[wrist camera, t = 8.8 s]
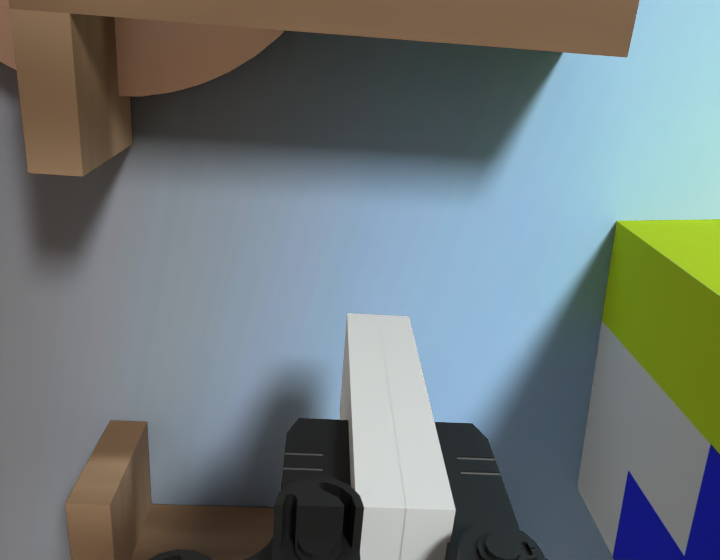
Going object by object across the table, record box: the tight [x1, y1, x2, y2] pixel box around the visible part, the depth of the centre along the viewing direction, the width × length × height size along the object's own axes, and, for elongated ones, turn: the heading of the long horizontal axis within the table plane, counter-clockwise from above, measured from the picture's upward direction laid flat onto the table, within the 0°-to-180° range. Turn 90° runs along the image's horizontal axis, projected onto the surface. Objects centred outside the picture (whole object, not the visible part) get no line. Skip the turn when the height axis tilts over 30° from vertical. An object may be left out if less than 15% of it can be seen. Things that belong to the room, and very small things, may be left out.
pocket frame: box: [9, 0, 639, 560], centre depth 19 cm, size 18×13×4 cm
